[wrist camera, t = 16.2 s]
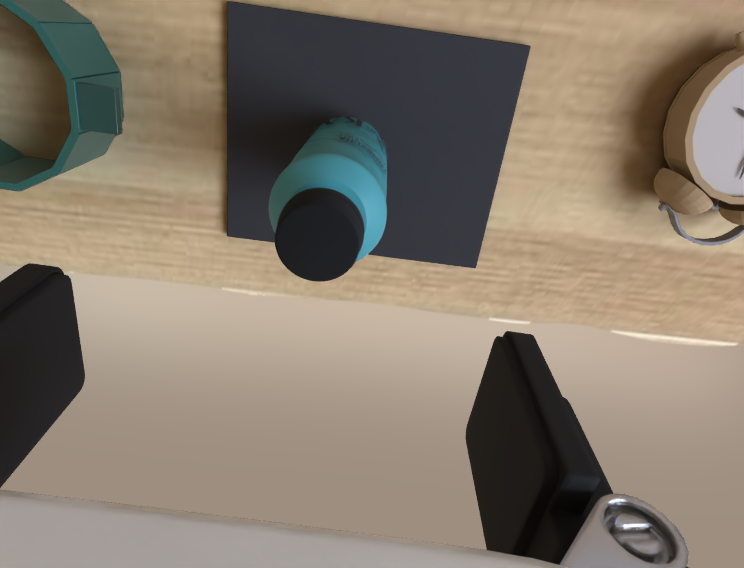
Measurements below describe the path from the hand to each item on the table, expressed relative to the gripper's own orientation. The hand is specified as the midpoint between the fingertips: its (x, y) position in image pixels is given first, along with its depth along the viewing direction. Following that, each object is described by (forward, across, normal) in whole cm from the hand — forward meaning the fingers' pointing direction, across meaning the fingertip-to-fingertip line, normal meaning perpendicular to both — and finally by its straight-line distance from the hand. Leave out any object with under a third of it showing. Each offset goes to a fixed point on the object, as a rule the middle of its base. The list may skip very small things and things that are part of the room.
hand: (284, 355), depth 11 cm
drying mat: (+32, -1, +2) cm, 32 cm away
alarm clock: (+32, -29, -2) cm, 43 cm away
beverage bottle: (+31, 0, +3) cm, 32 cm away
